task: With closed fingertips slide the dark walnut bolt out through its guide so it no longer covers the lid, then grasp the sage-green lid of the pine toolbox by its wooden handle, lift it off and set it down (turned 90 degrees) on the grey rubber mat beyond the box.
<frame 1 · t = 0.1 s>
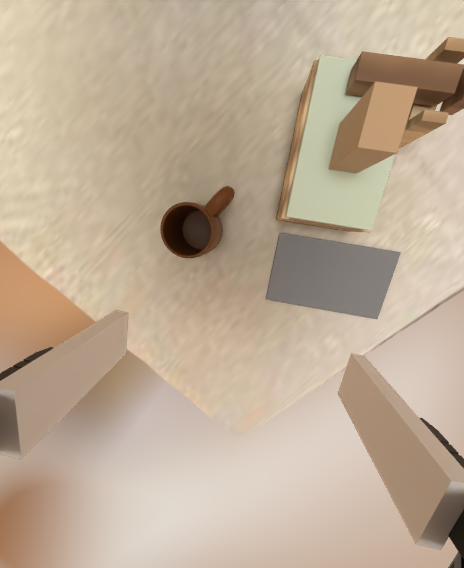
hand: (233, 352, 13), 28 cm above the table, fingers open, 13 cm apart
lid: (344, 152, 28), point 7 cm above the table, touching toolbox
mat: (329, 276, 39), on the table
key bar: (411, 81, 24), point 10 cm above the table, slide at 0.0 cm
toolbox: (326, 166, 35), on the table
mug: (210, 221, 39), on the table
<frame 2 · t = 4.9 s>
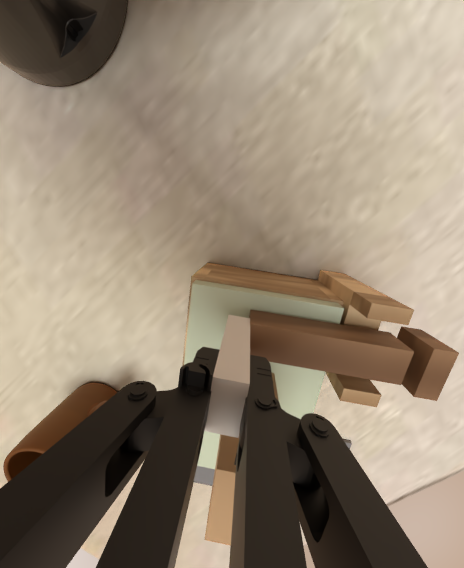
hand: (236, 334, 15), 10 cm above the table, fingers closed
lid: (247, 385, 20), point 7 cm above the table, touching toolbox
mat: (264, 460, 31), on the table
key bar: (336, 347, 15), point 10 cm above the table, slide at 1.0 cm, touching gripper
toolbox: (248, 344, 27), on the table
mug: (111, 394, 30), on the table
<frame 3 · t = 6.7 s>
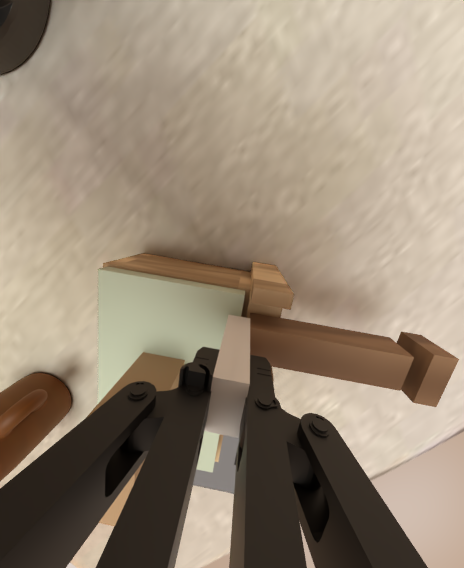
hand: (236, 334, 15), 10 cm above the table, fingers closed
lid: (166, 372, 20), point 7 cm above the table, touching toolbox
mat: (210, 452, 31), on the table
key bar: (336, 351, 15), point 10 cm above the table, slide at 8.2 cm, touching gripper
toolbox: (187, 336, 27), on the table
mug: (57, 384, 31), on the table
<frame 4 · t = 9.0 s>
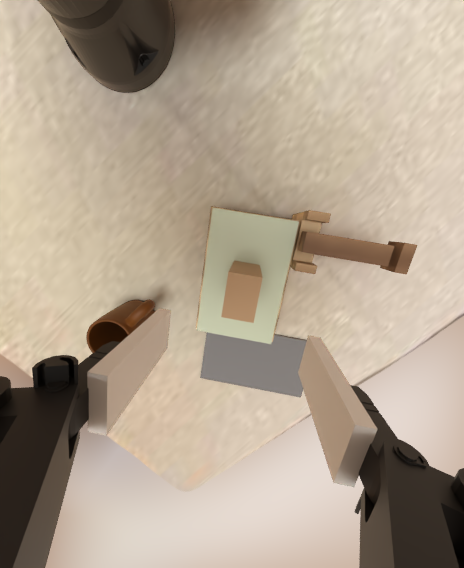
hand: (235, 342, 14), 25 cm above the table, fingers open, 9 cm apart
lid: (244, 278, 32), point 7 cm above the table, touching toolbox
mat: (255, 359, 43), on the table
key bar: (352, 249, 27), point 10 cm above the table, slide at 8.2 cm
toolbox: (245, 269, 39), on the table
mug: (146, 310, 43), on the table
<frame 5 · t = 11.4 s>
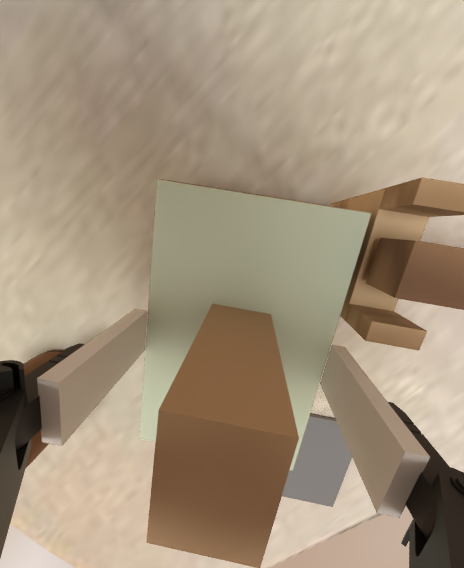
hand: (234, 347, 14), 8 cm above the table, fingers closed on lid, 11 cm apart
lid: (235, 337, 15), point 7 cm above the table, touching gripper, toolbox
mat: (258, 447, 26), on the table
toolbox: (240, 302, 22), on the table
mug: (77, 366, 26), on the table
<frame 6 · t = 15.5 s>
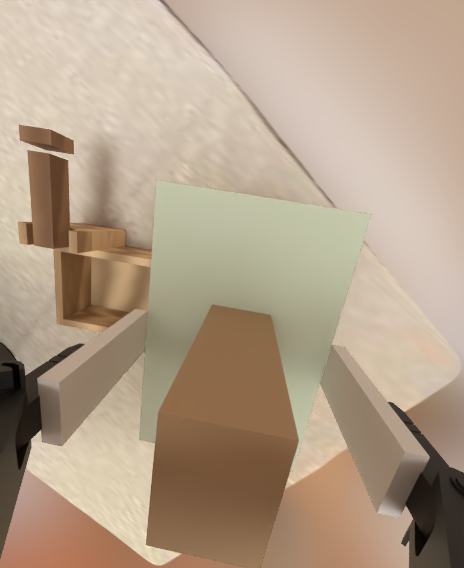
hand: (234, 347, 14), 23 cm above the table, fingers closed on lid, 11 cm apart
lid: (235, 337, 15), point 22 cm above the table, touching gripper
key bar: (50, 193, 26), point 10 cm above the table, slide at 8.2 cm
toolbox: (140, 284, 38), on the table
when the fingers open (4 cm above the table, at t = 19.5 s): lid stays where it is, resting on mat.
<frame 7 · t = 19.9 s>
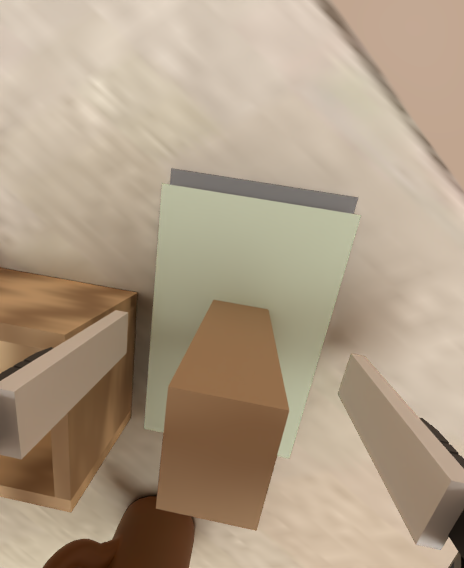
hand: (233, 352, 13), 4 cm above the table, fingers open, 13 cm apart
lid: (235, 331, 16), point 1 cm above the table, touching mat
mat: (237, 323, 17), on the table
toolbox: (32, 340, 19), on the table
mug: (146, 504, 23), on the table
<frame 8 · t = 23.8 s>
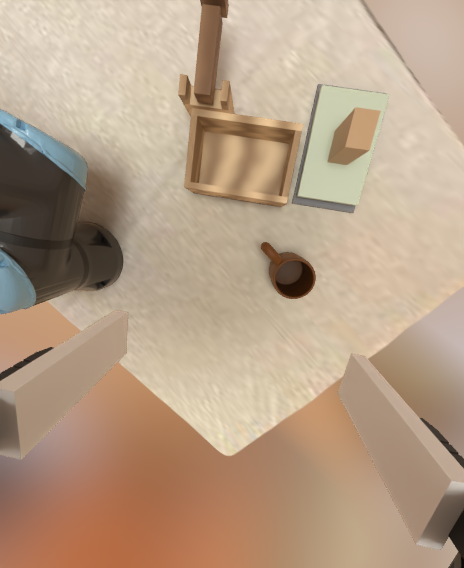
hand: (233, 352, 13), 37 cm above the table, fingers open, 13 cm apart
lid: (338, 150, 41), point 1 cm above the table, touching mat
mat: (336, 152, 42), on the table
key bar: (209, 48, 32), point 10 cm above the table, slide at 8.2 cm
toolbox: (242, 167, 44), on the table
mug: (279, 261, 48), on the table
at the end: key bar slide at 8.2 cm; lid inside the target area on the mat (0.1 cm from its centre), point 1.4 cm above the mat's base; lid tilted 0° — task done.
